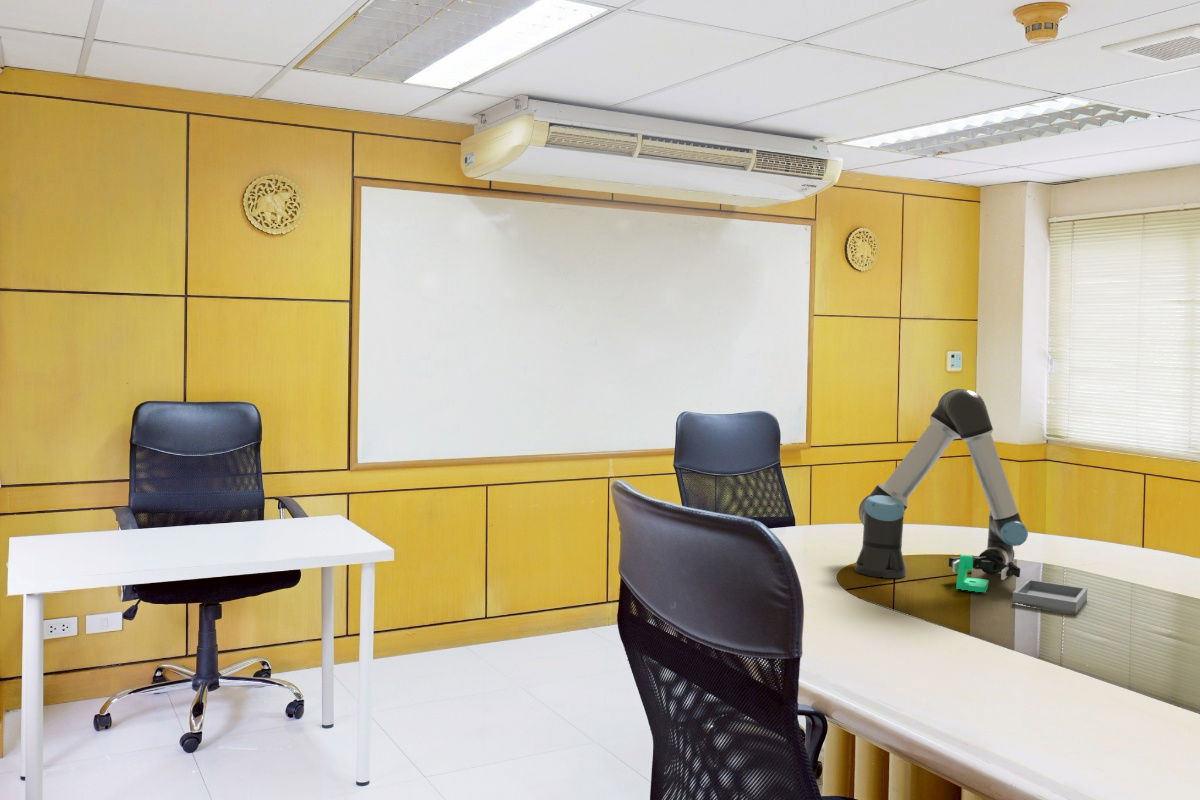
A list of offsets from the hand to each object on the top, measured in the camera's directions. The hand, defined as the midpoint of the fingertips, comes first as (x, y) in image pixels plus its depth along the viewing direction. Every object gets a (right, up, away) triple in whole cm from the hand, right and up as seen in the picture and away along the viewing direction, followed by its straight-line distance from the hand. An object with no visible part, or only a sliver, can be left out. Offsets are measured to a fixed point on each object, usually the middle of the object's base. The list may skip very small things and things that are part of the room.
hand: (977, 571), depth 289 cm
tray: (+17, -7, -9) cm, 21 cm away
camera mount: (-1, -6, +2) cm, 7 cm away
